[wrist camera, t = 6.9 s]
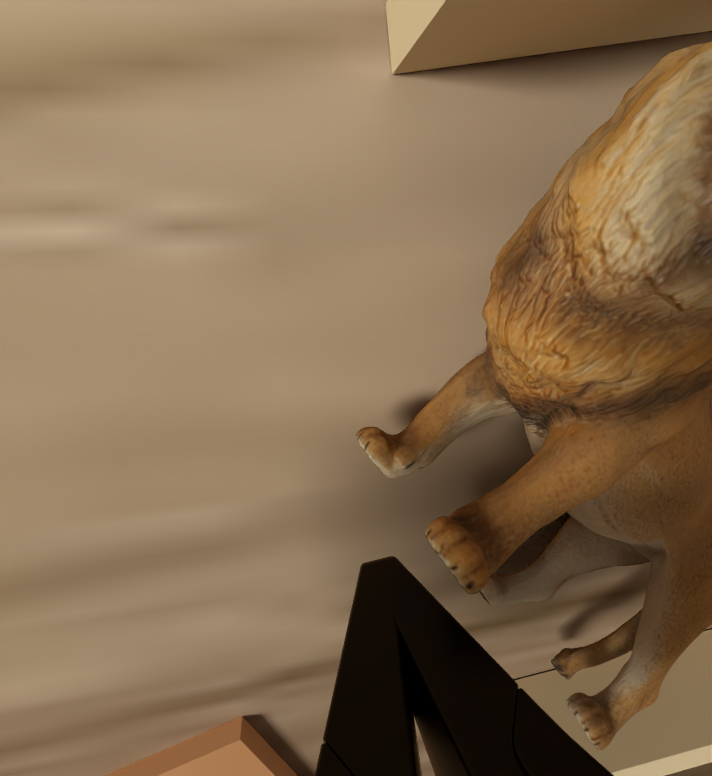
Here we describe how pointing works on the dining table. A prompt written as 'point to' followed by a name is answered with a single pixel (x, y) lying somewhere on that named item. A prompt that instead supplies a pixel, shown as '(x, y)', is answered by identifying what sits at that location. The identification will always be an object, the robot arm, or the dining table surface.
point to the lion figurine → (599, 389)
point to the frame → (532, 37)
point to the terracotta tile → (214, 756)
